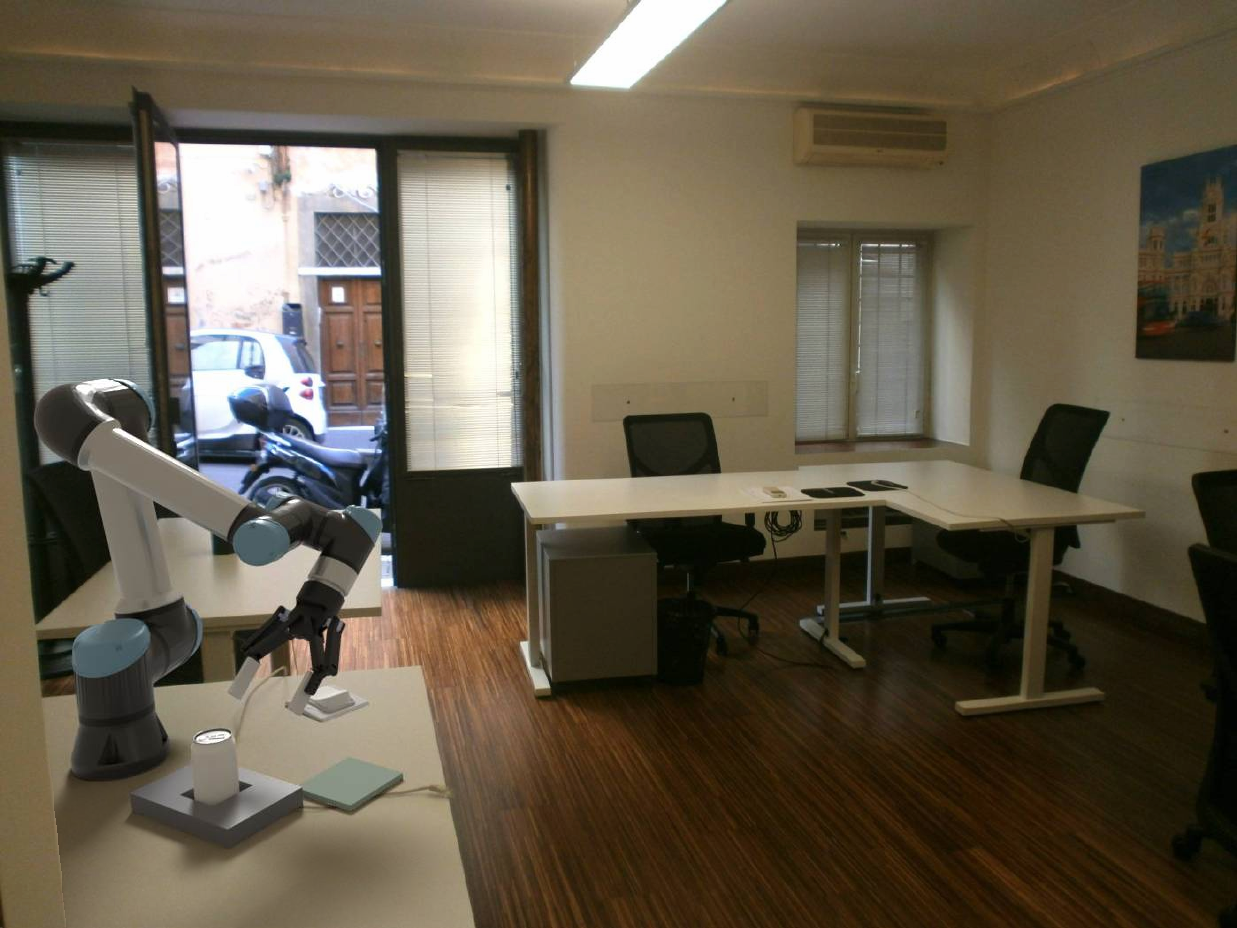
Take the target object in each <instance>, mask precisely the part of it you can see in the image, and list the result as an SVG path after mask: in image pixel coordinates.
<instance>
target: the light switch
mask: <svg viewBox="0 0 1237 928" xmlns="http://www.w3.org/2000/svg"><path fill="white" fill-rule="evenodd" d="M291 700H292V698H291V699H288V700H286V701H285V702H284V706H286V707H288V706H289V704H290V702H291ZM369 704H370V705H371V703H370V702H369V701H368V700H367V699H364V698H362V697H360V696H358V695H356V694H354V693H352V692H350V691H349V690H348V689H344V688H342V687H341V686H338V685H336V684H330V685H324V686H321V687H318V689H317V691H316V693H315V694H314V695H313V696H312V695H311V697H310V699H309V701H308V703H307V705H306V707H305V709H304V711H303V714H302V715H304V714H305V716H306V717H309V718H311V719H313V718H314V719H313V720H315V719H316V721H318V720H319V721H318V722H320V721H321V722H320V723H323V722H324V723H326V722H328V721H327V720H329V721H331V720H330V719H332V718H334V719H336V718H338V717H341V716H344V715H347V714H349V713H348V712H350V711H352V712H355V711H357V710H359V709H363V708H365V707H367V706H366V705H368V706H370V705H369ZM364 706H365V707H364ZM346 713H347V714H346ZM350 713H351V712H350ZM332 720H333V719H332ZM325 721H326V722H325Z"/></svg>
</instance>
